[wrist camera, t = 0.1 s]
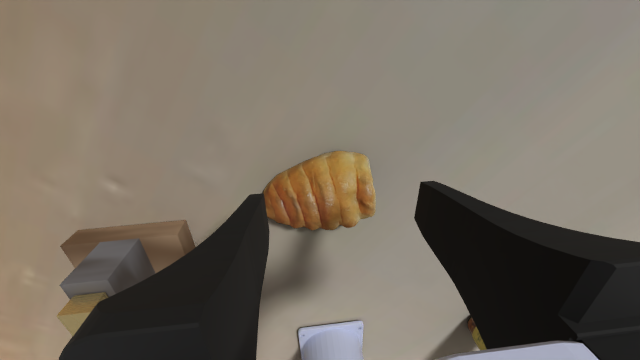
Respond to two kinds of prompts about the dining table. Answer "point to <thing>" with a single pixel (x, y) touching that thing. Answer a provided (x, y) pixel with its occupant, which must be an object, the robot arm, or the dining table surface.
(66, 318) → the tan rectangular bar
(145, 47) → the dining table surface
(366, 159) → the pastry
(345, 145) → the dining table surface
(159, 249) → the base
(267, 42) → the dining table surface
